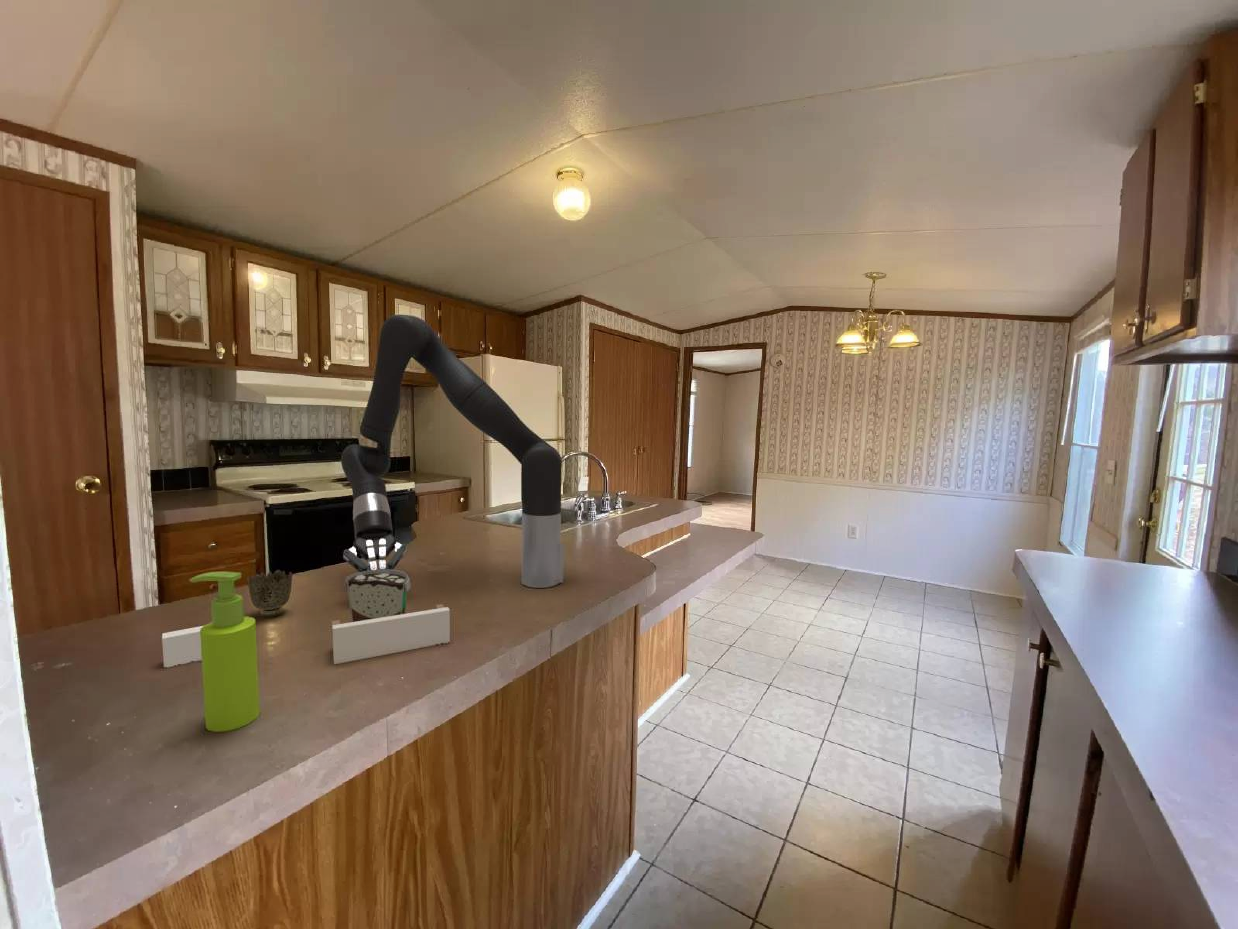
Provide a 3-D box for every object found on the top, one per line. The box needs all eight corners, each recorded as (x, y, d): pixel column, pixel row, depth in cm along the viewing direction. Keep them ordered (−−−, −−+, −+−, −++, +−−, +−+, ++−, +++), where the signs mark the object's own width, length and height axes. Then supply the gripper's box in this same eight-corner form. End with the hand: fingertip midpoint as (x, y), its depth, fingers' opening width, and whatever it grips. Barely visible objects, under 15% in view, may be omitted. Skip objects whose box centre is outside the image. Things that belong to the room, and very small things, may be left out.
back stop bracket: (442, 629, 101) (442, 598, 101) (449, 642, 96) (449, 610, 96) (332, 649, 92) (331, 615, 92) (334, 664, 87) (332, 629, 86)
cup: (302, 612, 108) (300, 573, 107) (264, 625, 101) (263, 584, 100) (278, 605, 111) (276, 567, 110) (240, 617, 104) (238, 577, 103)
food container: (423, 619, 106) (422, 570, 105) (407, 632, 100) (406, 580, 99) (363, 615, 107) (362, 566, 106) (345, 628, 101) (343, 576, 100)
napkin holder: (136, 676, 82) (133, 641, 82) (193, 643, 94) (191, 612, 93) (234, 679, 83) (232, 643, 82) (279, 645, 94) (278, 614, 93)
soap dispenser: (216, 707, 74) (208, 566, 72) (268, 706, 75) (262, 567, 73) (186, 732, 68) (176, 581, 66) (243, 731, 69) (235, 581, 67)
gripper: (339, 511, 113) (343, 585, 104) (405, 506, 120) (415, 575, 110) (338, 530, 118) (343, 602, 109) (402, 525, 125) (411, 592, 116)
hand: (379, 588), depth 110 cm, fingers closed
